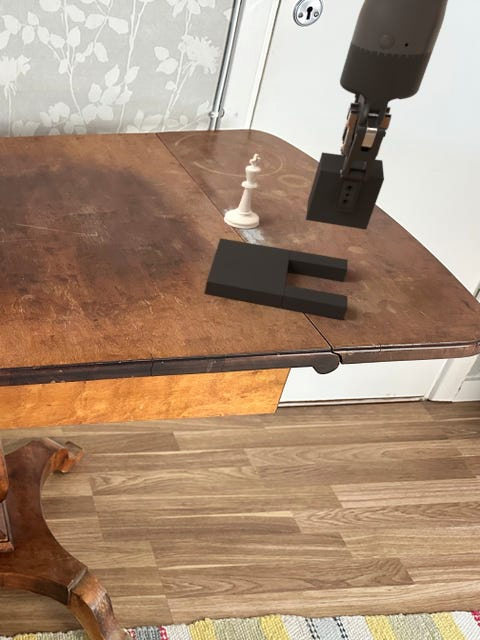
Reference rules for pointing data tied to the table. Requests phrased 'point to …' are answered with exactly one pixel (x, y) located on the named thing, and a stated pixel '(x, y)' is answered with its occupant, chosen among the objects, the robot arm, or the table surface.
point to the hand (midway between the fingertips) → (341, 198)
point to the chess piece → (245, 200)
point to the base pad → (275, 277)
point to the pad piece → (326, 190)
